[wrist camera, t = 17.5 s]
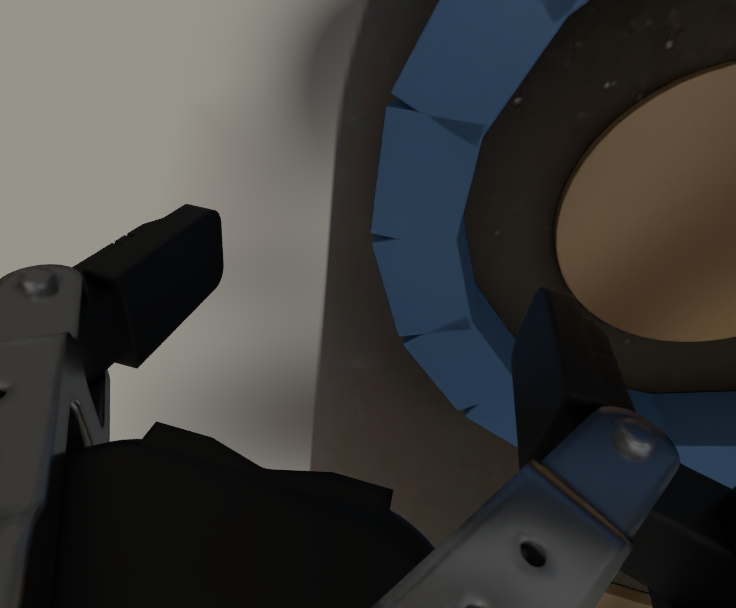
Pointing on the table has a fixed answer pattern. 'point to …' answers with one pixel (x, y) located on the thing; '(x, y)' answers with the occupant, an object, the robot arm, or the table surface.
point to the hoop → (447, 229)
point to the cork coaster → (658, 214)
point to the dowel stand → (624, 598)
